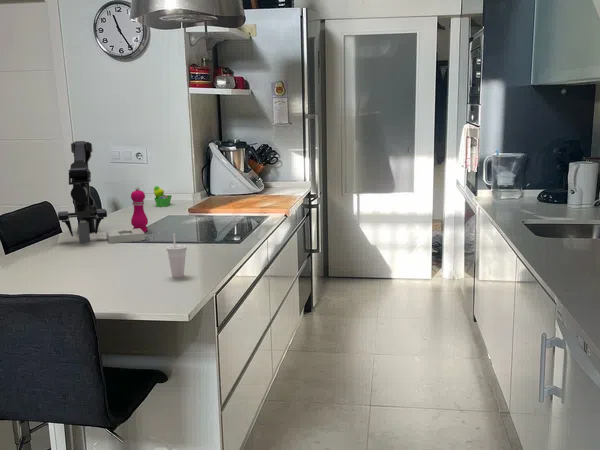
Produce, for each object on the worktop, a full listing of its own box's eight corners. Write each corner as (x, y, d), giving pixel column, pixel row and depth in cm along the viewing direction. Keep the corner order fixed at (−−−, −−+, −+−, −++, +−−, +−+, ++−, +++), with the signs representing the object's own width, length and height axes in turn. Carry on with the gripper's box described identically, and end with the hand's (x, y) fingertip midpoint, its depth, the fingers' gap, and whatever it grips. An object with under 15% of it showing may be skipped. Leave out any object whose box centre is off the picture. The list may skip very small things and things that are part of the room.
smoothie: (169, 273, 195) (166, 231, 193) (189, 273, 196) (187, 231, 193) (166, 279, 189) (164, 235, 186) (187, 278, 189) (185, 235, 187)
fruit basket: (168, 207, 334) (166, 187, 332) (152, 207, 334) (151, 187, 332) (172, 204, 345) (171, 184, 343) (157, 204, 345) (156, 184, 343)
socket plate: (106, 238, 253) (106, 230, 252) (140, 235, 258) (140, 228, 257) (109, 243, 242) (109, 236, 241) (144, 240, 247) (144, 233, 247)
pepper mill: (144, 233, 261) (141, 187, 258) (128, 233, 263) (125, 187, 259) (151, 230, 268) (148, 185, 265) (136, 229, 270) (133, 185, 266)
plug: (79, 241, 248) (77, 220, 246) (89, 240, 249) (87, 219, 247) (79, 243, 244) (78, 222, 242) (90, 242, 245) (88, 221, 244)
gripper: (56, 201, 232) (60, 241, 235) (107, 198, 239) (109, 236, 242) (56, 198, 242) (59, 235, 245) (104, 195, 250) (107, 231, 252)
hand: (84, 235), depth 246 cm, fingers open, 9 cm apart
